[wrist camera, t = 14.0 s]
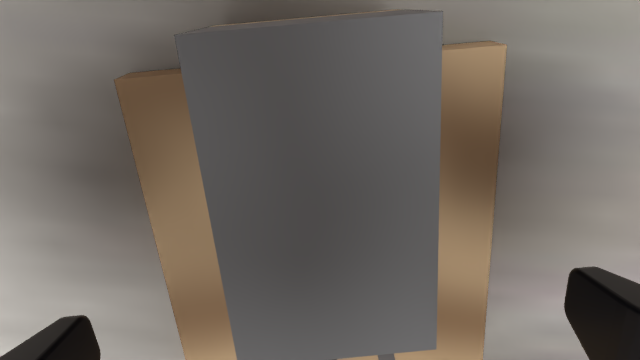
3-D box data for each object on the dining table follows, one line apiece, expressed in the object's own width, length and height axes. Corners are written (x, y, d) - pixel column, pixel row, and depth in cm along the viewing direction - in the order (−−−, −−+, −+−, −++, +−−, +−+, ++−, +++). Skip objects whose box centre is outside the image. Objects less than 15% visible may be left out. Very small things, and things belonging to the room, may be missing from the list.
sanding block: (402, 263, 15) (436, 349, 11) (253, 277, 15) (238, 368, 11) (398, 9, 12) (443, 10, 8) (213, 25, 12) (174, 35, 8)
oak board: (464, 448, 20) (474, 475, 19) (225, 471, 20) (221, 500, 19) (489, 41, 14) (508, 44, 12) (129, 72, 13) (113, 80, 12)
